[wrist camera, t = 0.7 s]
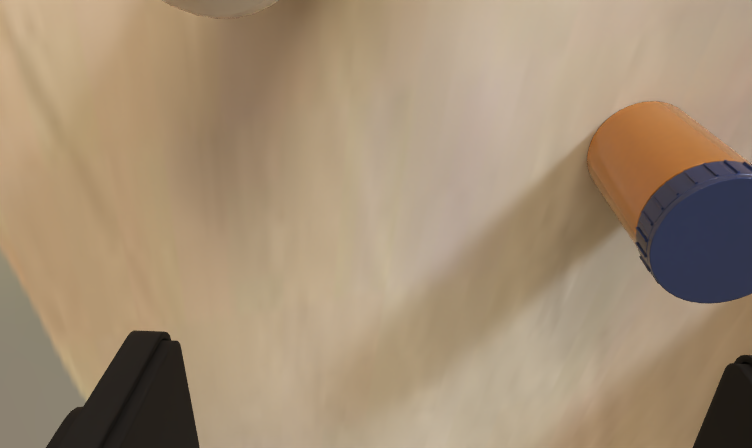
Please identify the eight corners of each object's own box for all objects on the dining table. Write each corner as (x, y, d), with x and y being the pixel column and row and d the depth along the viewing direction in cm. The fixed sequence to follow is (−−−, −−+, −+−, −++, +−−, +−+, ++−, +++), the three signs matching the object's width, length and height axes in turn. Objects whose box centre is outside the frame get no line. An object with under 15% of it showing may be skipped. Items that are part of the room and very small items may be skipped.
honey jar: (643, 79, 34) (731, 147, 25) (719, 140, 36) (828, 224, 27) (564, 164, 37) (618, 252, 28) (639, 217, 39) (712, 317, 30)
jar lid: (716, 131, 26) (737, 147, 25) (814, 209, 28) (840, 229, 26) (604, 238, 29) (616, 259, 28) (699, 303, 31) (716, 326, 29)
